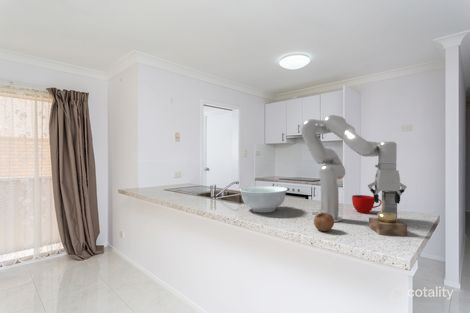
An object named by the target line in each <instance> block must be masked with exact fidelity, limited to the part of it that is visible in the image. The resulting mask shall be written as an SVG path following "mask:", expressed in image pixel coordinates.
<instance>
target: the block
mask: <svg viewBox="0 0 470 313" xmlns="http://www.w3.org/2000/svg"><path fill="white" fill-rule="evenodd" d="M368 229H370V230H372V231H373V232H375V233H376V234H377V235H381V236H405V237H407V236H408V224H407V223H405V222H402V221H400V220H399V219H398V218H397V219H396V223H385V222H380V221H378V217H368Z"/></svg>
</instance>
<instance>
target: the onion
mask: <svg viewBox="0 0 470 313" xmlns="http://www.w3.org/2000/svg"><path fill="white" fill-rule="evenodd" d="M313 218H314V219H313V225H314V226H315V229H317V230H318V231H321V232H327V231H330V230H331V229H332V228H333V227H334V225H335V222H334V219H333V217H332V215H330V214H329V213H319V214H318V215H316V216H315V215H314V217H313Z"/></svg>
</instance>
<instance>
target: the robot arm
mask: <svg viewBox="0 0 470 313" xmlns="http://www.w3.org/2000/svg"><path fill="white" fill-rule="evenodd" d="M300 131H301V132H300V133H301V136H302V139H303V142H305V145H306V147H307V148H308V151H309V152H310V155H311V156H312V158H313V160H314V162H315V163H316V164H318V165H323V166H321V167H320V168H319V170H318V176H319V177H318V178H319V182H320V209H319V210H318V211H312V213H311V214H312V216H314V217H315V216H316V215H318V214H319V213H329V214H330V215H332V217H333V219H334V223H338V222H341V221H342V217H341V216H339V183H338V180H342V179H344V177H345V176H346V168H345V166H344V164H343V162H342V160H341V159H340V157H339V155H338V154H337V152H336V151H334V150H333V149H332V148H327V147H326V146H325V145H324V144H323V142H322V140H321V139H320V138H319V137H318V135H326V134H331V133H332V134H334V135H336V136H337V137H338V138H339V139H341V140H342V141H343V142H344V143H345V144H346V145H347V146H348V148H349V149H351V150H352V151H353V152H356V153H357V154H358V155H359V156H362V157H366V158H367V157H370V158H371V157H378V160H377V161H378V162H377V164H375V165H374V168H377V170H376V172H375V177H374V182H371V183H369V184H367V187H368V189H369V191H370V192H371V194H373V197H374V202H375V203H376V204H380V203H379V202H380V201H379V200H380V199H379V198H380V197H379V193H380V192H382V191H394V192H395V193H396V194H395V203H397V205H398V204H400V202H401V196H402V194H403V193H404V192H405V190H406V189H407V185H405V184H403V183H401V177H400V173H399V170H397V156H398V155H397V154H398V153H397V152H398V151H397V149H398V148H397V146H398V145H397V142H395V141H380V142H378V141H377V142H376V141H368V140H366V139H365V138H363V137H362V136H361V135H360V134H358V133H357V132H356V129H355V127H354V126H352V125H351V124H349V123H347V121H346V119H345V118H344V117H343V116H339V115H335V114H331V115H330V114H329V115H327V116H326V117H325V119H323V120H321V119H316V118H315V119H313V118H311V119H307V120H305V121H304V123H303V124H302V126H301V130H300ZM373 187H374V188H373Z"/></svg>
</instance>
